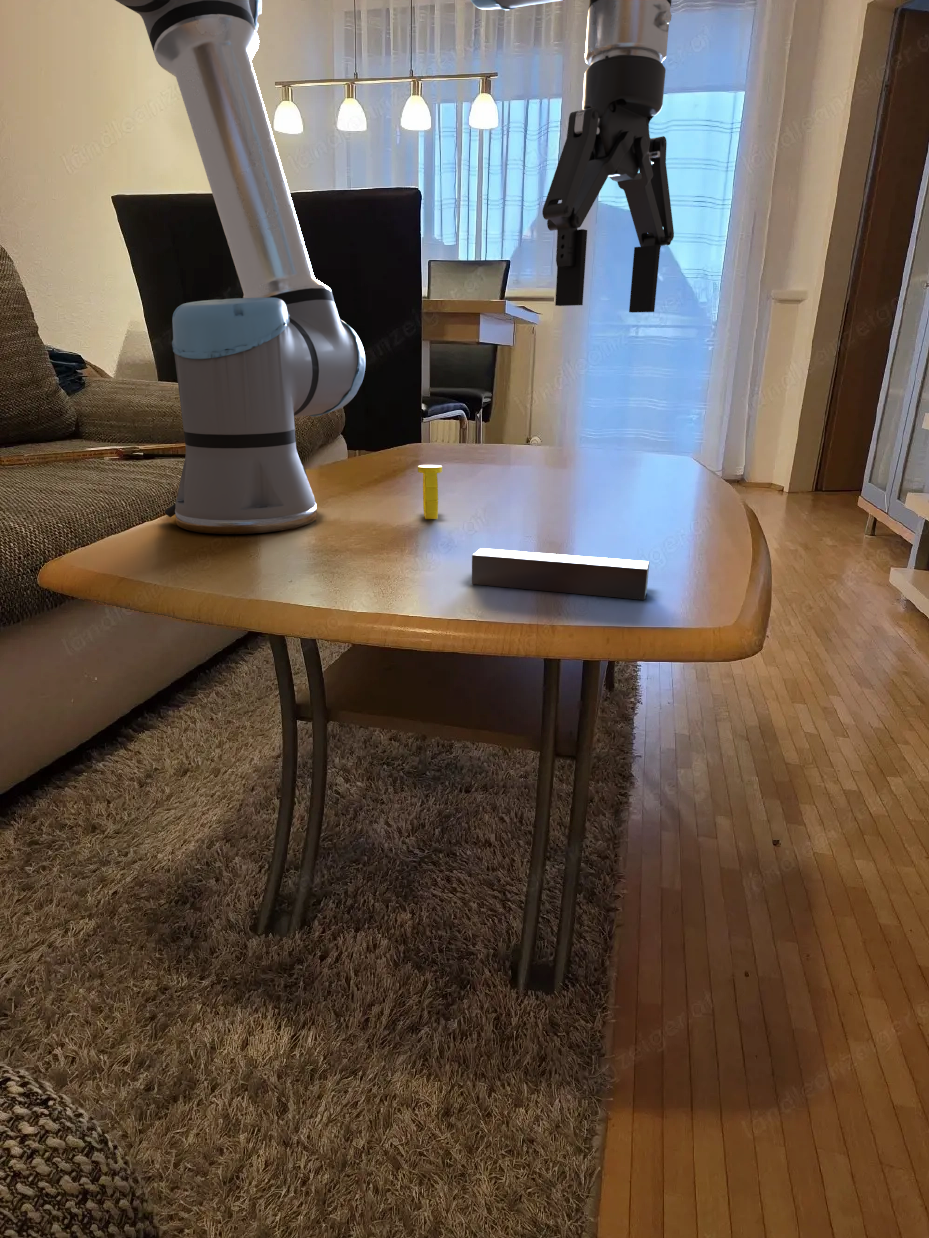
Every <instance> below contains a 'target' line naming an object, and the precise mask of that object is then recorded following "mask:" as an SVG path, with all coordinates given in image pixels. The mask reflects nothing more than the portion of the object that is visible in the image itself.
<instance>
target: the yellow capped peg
mask: <svg viewBox="0 0 929 1238" xmlns="http://www.w3.org/2000/svg"><path fill="white" fill-rule="evenodd" d="M417 472H418V473H419V474H422V506H423V507H422V508H423V517H424V519H425V520H438V516H439V515H438V514H439V481H438V474H440V473H443V466H442V465H439V464H421V465H417Z"/></svg>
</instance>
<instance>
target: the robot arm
mask: <svg viewBox="0 0 929 1238" xmlns="http://www.w3.org/2000/svg"><path fill="white" fill-rule="evenodd" d="M115 1H116V2H117V3H119V4H120V5H122V6H124V7H126V8H127V9H129V10H131V11H133V12H134V13H137V14H138V15H139V16H140V18H141V19H142V21H143V24H144V27H145V30H146V33H147V35H148V39H149V43H150V45H151V48H152V52H153V55H154V58H155V60H156V62H157V64H158V65H159V66H160V68H161V69H163V70H164V71H165V72H167V73H169V74H170V75H172V76H174V77H175V78H176V82H177V86H178V88H179V91H180V95H181V97H182V101H183V105H184V108H185V111H186V114H187V117H188V120H189V123H190V126H191V129H192V133H193V137H194V139H195V143H196V146H197V149H198V152H199V156H200V158H201V162H202V165H203V168H204V171H205V174H206V177H207V181H208V184H209V188H210V191H211V194H212V196H213V200H214V203H215V206H216V211H217V213H218V216H219V219H220V222H221V225H222V229H223V232H224V235H225V238H226V241H227V245H228V247H229V251H230V254H231V258H232V261H233V264H234V266H235V267H234V268H235V271H236V275H237V277H238V281H239V283H240V287H241V290H242V292H243V296H242V298H241V297H238V298H236V297H235V298H224V299H208V300H207V299H206V300H197V301H190V302H186V303H182V304H180V305H179V306H177V307H176V308H175V310H174V311H173V314H172V318H171V319H172V341H171V348H172V352H173V353H174V361H175V372H176V377H177V387H178V394H179V396H178V397H179V403H180V411H181V419H182V421H181V422H182V429H183V434H184V435H183V436H184V443H185V457H184V461H183V467H182V471H181V475H180V480H179V481H180V482H179V485H178V490H177V495H176V496H177V497H176V499H175V503H174V504H172V505H171V506H170V507H168V508H166V509H165V510H164V513H165V514H166V516H167V517H168V518H172V517H174V516H175V522H176V525H177V526H178V527H179V528H181V529H183V530H187V531H190V532H196V533H205V534H217V535H246V534H261V533H271V532H278V531H284V530H289V529H295V528H299V527H303V526H306V525H308V524H311V523H312V522H314V521H316V519H317V517H318V514H317V503H316V497H315V495H314V492H313V490H312V488H311V485H310V482H309V480H308V479H309V477H308V474H307V471H306V468H305V466H304V465H303V464H302V461H301V459H300V457H299V454H298V450H297V442H296V441H297V440H296V429H295V428H296V423H295V418H299V417H320V416H323V415H326V414H329V413H331V412H335V411H338V410H340V409H342V408H343V407H345V406H346V405H348V404H349V403H350V402H351V401H352V400H353V399H354V397H355V396H356V395H357V393H358V391H359V390H360V387H361V386H362V384H363V380H364V378H365V373H366V372H365V371H366V354H365V349H364V346H363V343H362V341H361V339H360V337H359V335H358V334H357V332H356V331H355V330H354V329H353V328H352V327H351V326H350V325H349V324H347V322H345V321H344V320H342V319H341V318H340V316H339V312H338V308H337V306H336V303H335V299H334V295H333V291H332V289H331V287H329V286H328V285H326V284H324V283H323V282H321V281H320V280H318V278H317V279H316V277H315V275H314V272H313V268H312V264H311V261H310V258H309V254H308V251H307V248H306V245H305V241H304V237H303V234H302V231H301V227H300V224H299V220H298V216H297V214H296V210H295V207H294V202H293V200H292V197H291V193H290V189H289V186H288V183H287V179H286V175H285V173H284V169H283V166H282V162H281V159H280V156H279V152H278V148H277V145H276V142H275V138H274V135H273V130H272V128H271V124H270V121H269V118H268V114H267V111H266V107H265V104H264V101H263V98H262V94H261V90H260V87H259V84H258V80H257V76H256V73H255V70H254V67H253V66H254V65H253V63H252V60H253V58H254V56H255V54H256V52H257V51H258V49H259V45H260V44H259V43H260V40H259V39H260V38H259V35H258V29H259V25H260V24H259V22H258V18H259V15H262V10H263V9H262V8H263V0H115ZM559 1H560V2H562V0H470V2H471V4H472V5H473V6H474V7H475V8H477V9H480V10H504V11H510V10H515V9H516V8H519V7H521V8H522V7H526V6H534V5H541V4H546V3H547V4H548V3H553V2H559ZM672 1H673V0H589V1H588V10H587V23H586V35H585V36H586V38H585V51H584V52H585V53H584V61H585V63H586V64H587V65H588V67H587V68H586V70H585V71H584V77H583V95H582V109H579V110H576V111H575V110H574V111H572V112H570V113H569V115H568V124H567V130H566V131H567V132H566V139H565V142H564V145H563V148H562V151H561V153H560V158H559V160H558V163H557V166H556V168H555V170H554V171H555V172H554V175H553V178H552V180H551V183H550V186H549V189H548V192H547V195H546V199H545V201H544V203H543V207H542V213H541V215H542V218H543V219H544V220H545V221H546V226H547V229H548V230H549V231H550V232H553V231H557V233H556V254H555V264H556V267H557V268H556V284H555V285H556V286H555V302H554V303H555V304H554V305H555V306H556V307H557V306H558V307H568V306H569V307H570V306H571V307H573V306H574V307H575V306H583V305H584V292H585V291H584V290H585V289H584V288H585V272H586V259H587V258H586V256H587V243H588V241H587V240H588V229H583V228H580V227H581V226H582V225H583V223H584V221H585V220H586V218H587V216H588V214H589V212H590V210H591V208H592V207H593V205H594V204H595V201H596V199H597V197H598V196H599V194H600V193H601V190H602V188H603V187H604V185H605V184H606V181H607V179H608V178H609V179H610V180H612V181H613V182H615V183H617V186H618V188H619V189H621V190H622V191H624V195H625V198H626V202H627V206H628V208H629V212H630V216H631V219H632V222H633V227H634V229H635V233H636V237H637V240H638V243H639V246H634V249H633V260H632V270H631V271H632V272H631V285H630V296H629V308H628V309H629V310H628V313H631V314H632V313H655V309H656V299H657V287H658V277H659V275H658V274H659V268H660V267H659V265H660V254H661V248H662V247H665V246H670V245H671V244H672V241H673V240H674V237H675V231H674V222H673V213H672V204H671V196H670V187H669V179H668V169H667V147H668V146H667V145H668V143H667V138H666V137H665V136H663V135H662V136H658V137H651V134H650V122H651V121H652V119H653V118H654V117H656V116H657V115H658V114H659V113H660V112H661V111H662V108H663V106H664V105H663V103H664V94H665V84H666V83H665V82H666V81H665V80H666V70H667V69H666V67H665V66H664V64H663V61H665V59H666V58H667V53H668V41H669V40H668V39H669V29H670V23H671V21H672V12H671V7H672ZM559 201H561V202H559ZM579 228H580V229H579Z"/></svg>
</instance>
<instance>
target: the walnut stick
mask: <svg viewBox="0 0 929 1238" xmlns="http://www.w3.org/2000/svg"><path fill="white" fill-rule="evenodd" d="M649 571H650V561H648V560H634V559H624V558H623V559H622V558H611V557H609V558H608V557H599V556H598V557H597V556H583V555H573V554H572V555H571V554H559V553H557V554H556V553H548V552H547V553H546V552H535V551H534V552H533V551H522V550H521V551H520V550H509V549H497V548H496V549H495V548H483V547H482V548H481V547H479V549H478V550H476V551H475V552H474V553H473V554H472V555H471V584H472V585H477V586H478V585H479V586H489V587H498V588H499V587H500V588H508V589H509V588H510V589H519V590H531V591H543V592H552V593H553V592H555V593H566V594H574V595H575V594H576V595H587V596H596V597H597V596H598V597H606V598H607V597H608V598H618V599H628V600H641V601H645V599H646V596H647V593H648V592H647V591H648V584H649V583H648V582H649V573H650V572H649Z"/></svg>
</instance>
